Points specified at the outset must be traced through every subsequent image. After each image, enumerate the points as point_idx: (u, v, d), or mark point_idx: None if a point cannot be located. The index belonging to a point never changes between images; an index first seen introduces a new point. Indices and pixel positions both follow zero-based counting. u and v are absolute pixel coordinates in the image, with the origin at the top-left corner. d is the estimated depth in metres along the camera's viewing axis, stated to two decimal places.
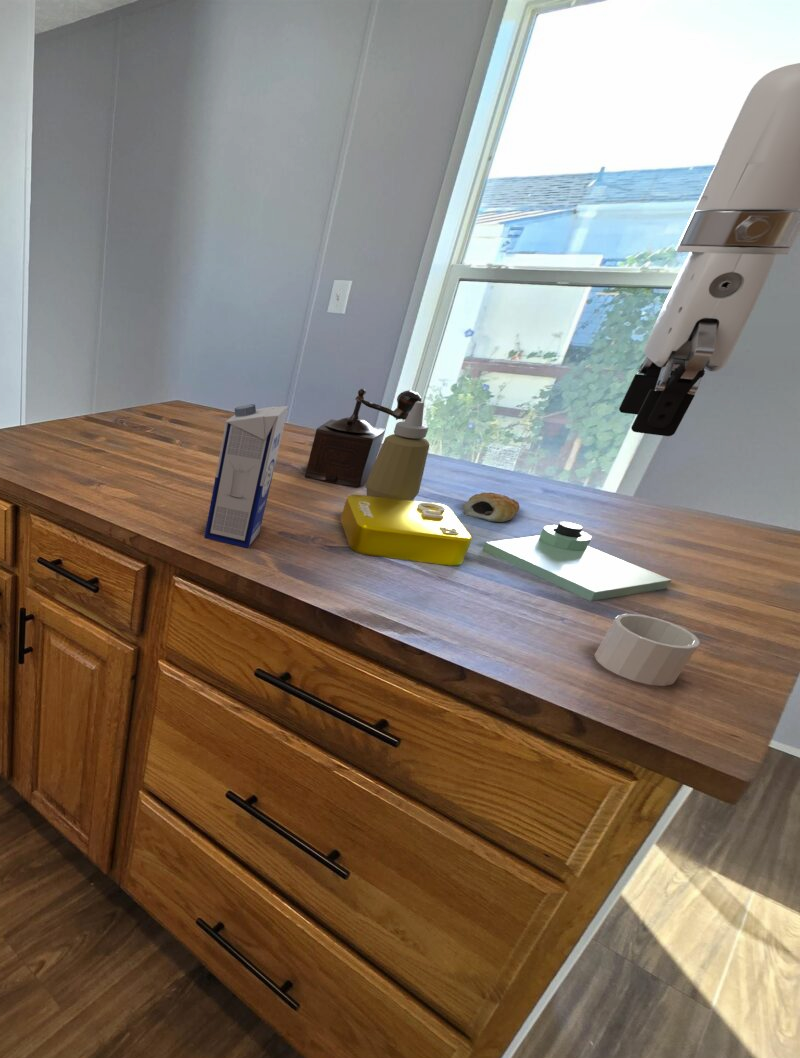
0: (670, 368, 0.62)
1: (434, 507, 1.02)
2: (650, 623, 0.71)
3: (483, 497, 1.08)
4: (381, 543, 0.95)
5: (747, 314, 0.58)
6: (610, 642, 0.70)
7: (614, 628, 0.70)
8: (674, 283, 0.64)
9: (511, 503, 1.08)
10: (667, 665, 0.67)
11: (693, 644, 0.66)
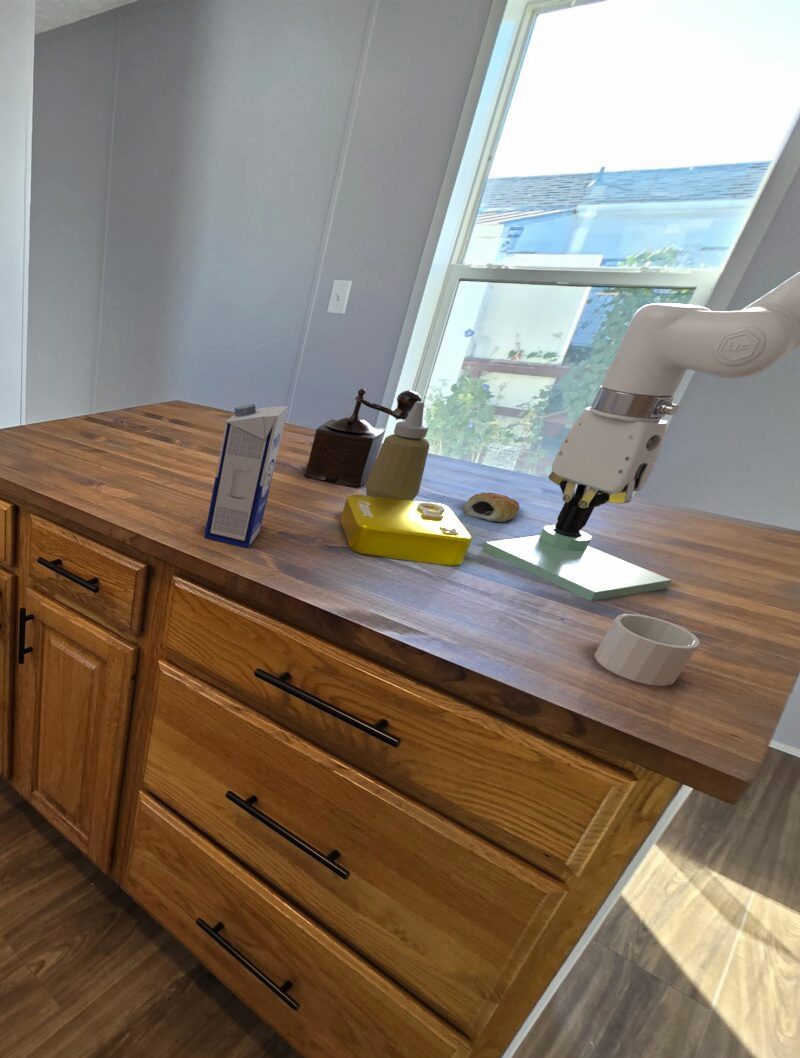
0: (595, 497, 0.92)
1: (434, 507, 1.02)
2: (650, 623, 0.71)
3: (483, 497, 1.08)
4: (381, 543, 0.95)
5: (656, 458, 0.88)
6: (610, 642, 0.70)
7: (614, 628, 0.70)
8: (585, 431, 0.91)
9: (511, 503, 1.08)
10: (667, 665, 0.67)
11: (693, 644, 0.66)
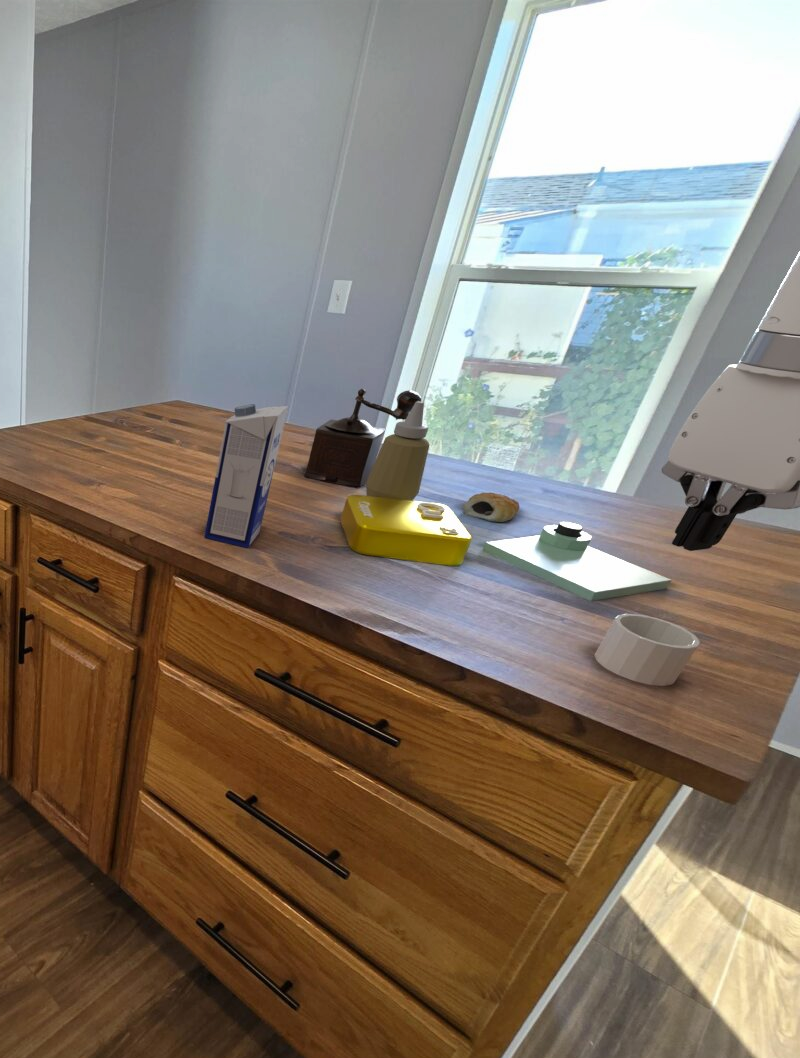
0: (741, 499, 0.61)
1: (434, 507, 1.02)
2: (650, 623, 0.71)
3: (483, 497, 1.08)
4: (381, 543, 0.95)
5: None
6: (610, 642, 0.70)
7: (614, 628, 0.70)
8: (728, 400, 0.61)
9: (511, 503, 1.08)
10: (667, 665, 0.67)
11: (693, 644, 0.66)
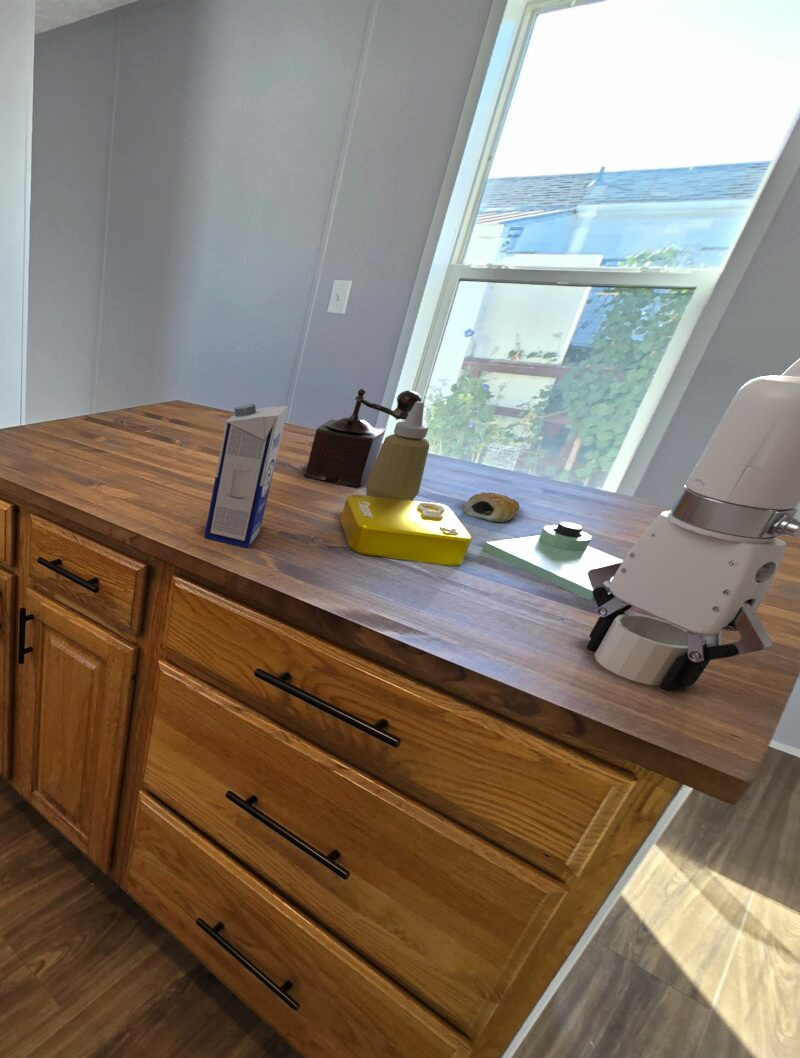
0: (705, 642, 0.64)
1: (434, 507, 1.02)
2: (650, 623, 0.71)
3: (483, 497, 1.08)
4: (381, 543, 0.95)
5: (767, 590, 0.62)
6: (610, 642, 0.70)
7: (614, 628, 0.70)
8: (661, 547, 0.66)
9: (511, 503, 1.08)
10: (667, 665, 0.67)
11: None
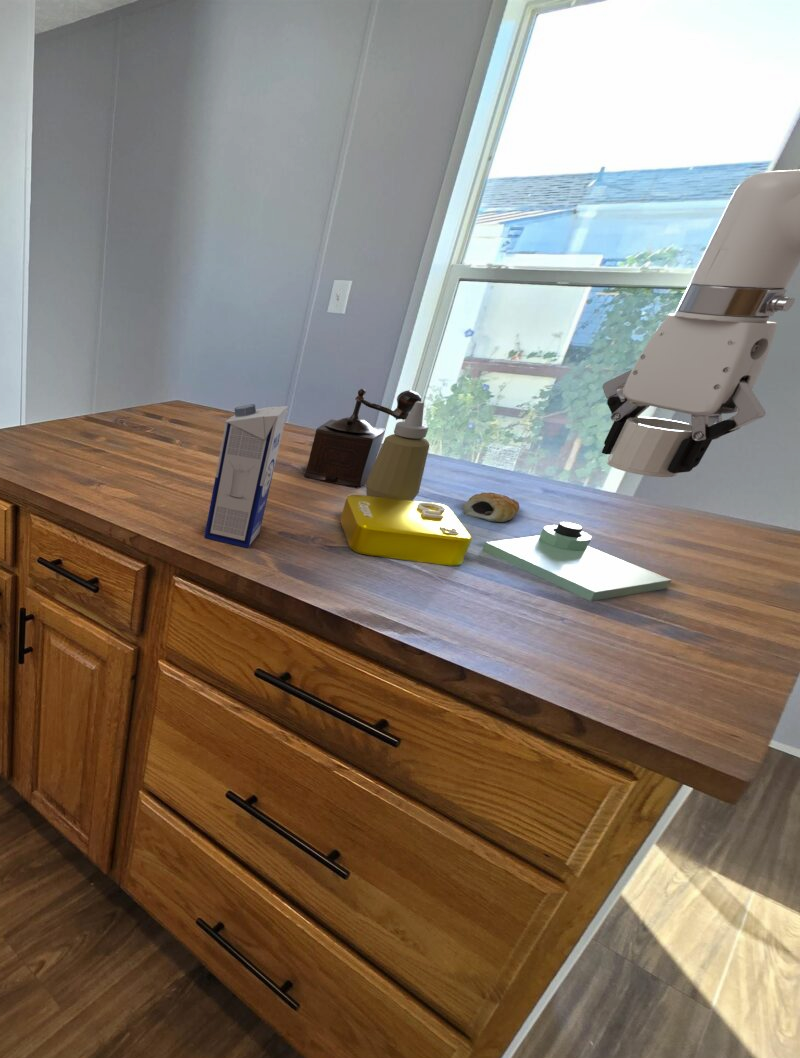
0: (707, 421, 0.74)
1: (434, 507, 1.02)
2: (658, 424, 0.81)
3: (483, 497, 1.08)
4: (381, 543, 0.95)
5: None
6: (623, 439, 0.80)
7: (626, 426, 0.80)
8: (668, 342, 0.75)
9: (511, 503, 1.08)
10: (674, 450, 0.77)
11: None
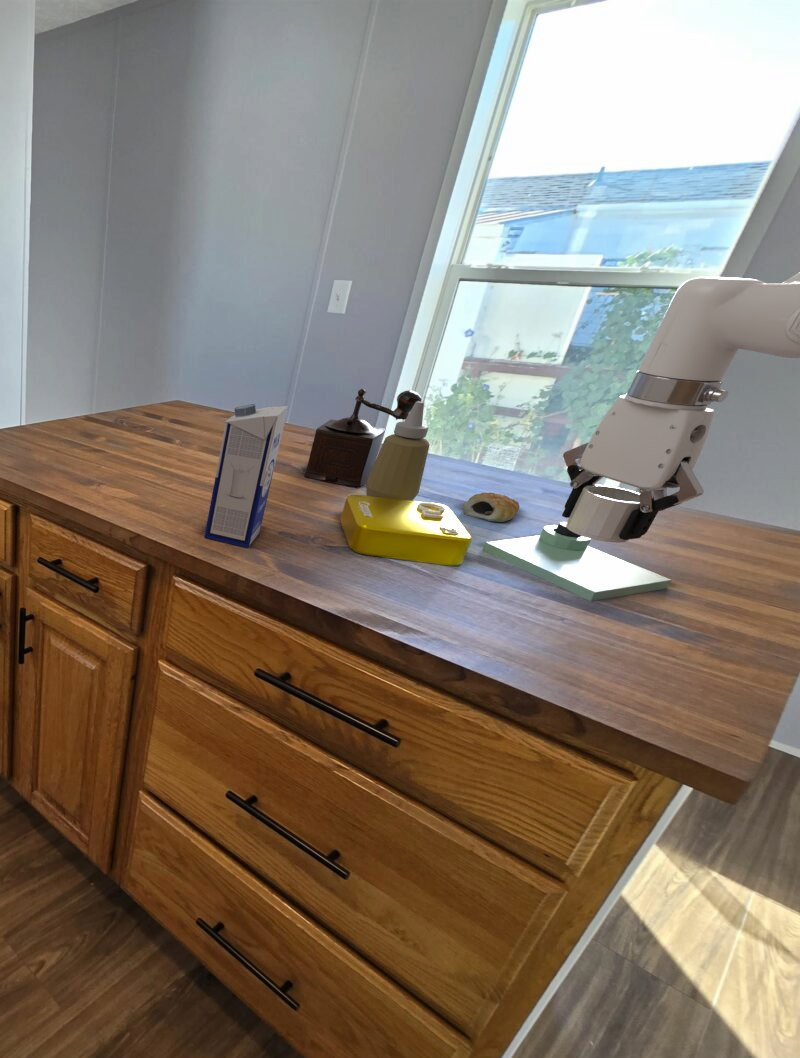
0: (653, 495, 0.81)
1: (434, 507, 1.02)
2: (612, 492, 0.88)
3: (483, 497, 1.08)
4: (381, 543, 0.95)
5: None
6: (580, 506, 0.87)
7: (583, 494, 0.87)
8: (619, 422, 0.82)
9: (511, 503, 1.08)
10: (624, 519, 0.84)
11: None
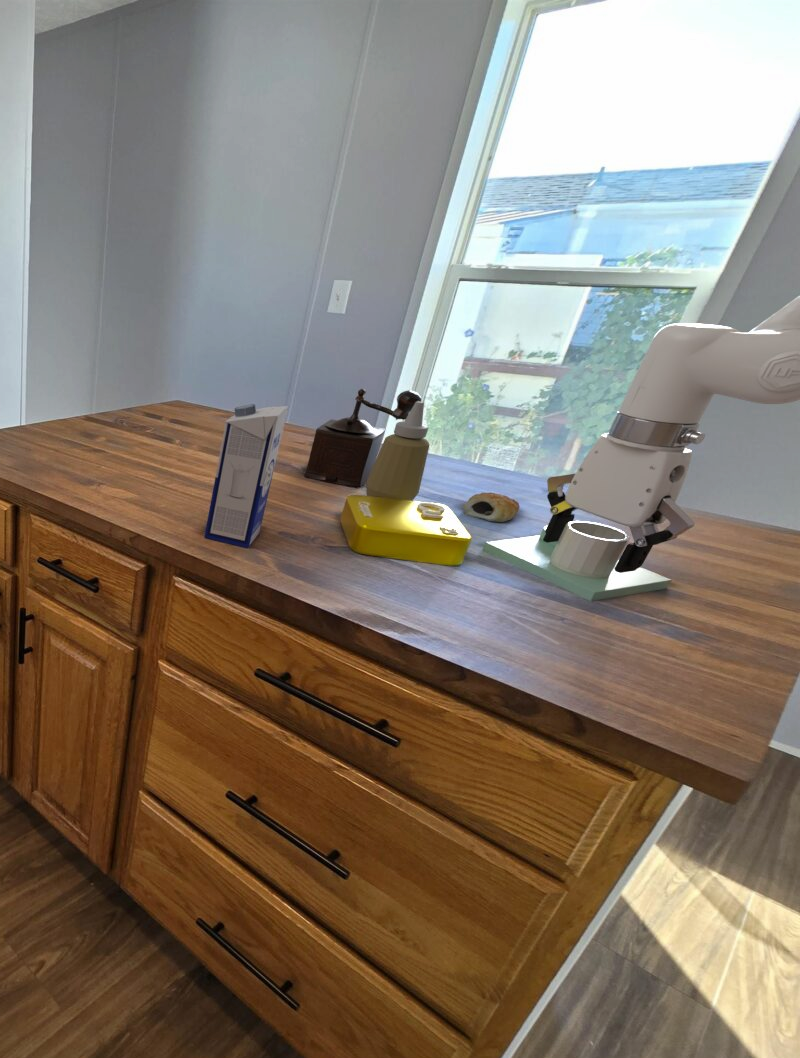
0: (644, 529, 0.82)
1: (434, 507, 1.02)
2: (594, 528, 0.91)
3: (483, 497, 1.08)
4: (381, 543, 0.95)
5: (680, 489, 0.81)
6: (562, 542, 0.90)
7: (565, 531, 0.90)
8: (601, 460, 0.85)
9: (511, 503, 1.08)
10: (605, 556, 0.86)
11: (624, 539, 0.86)
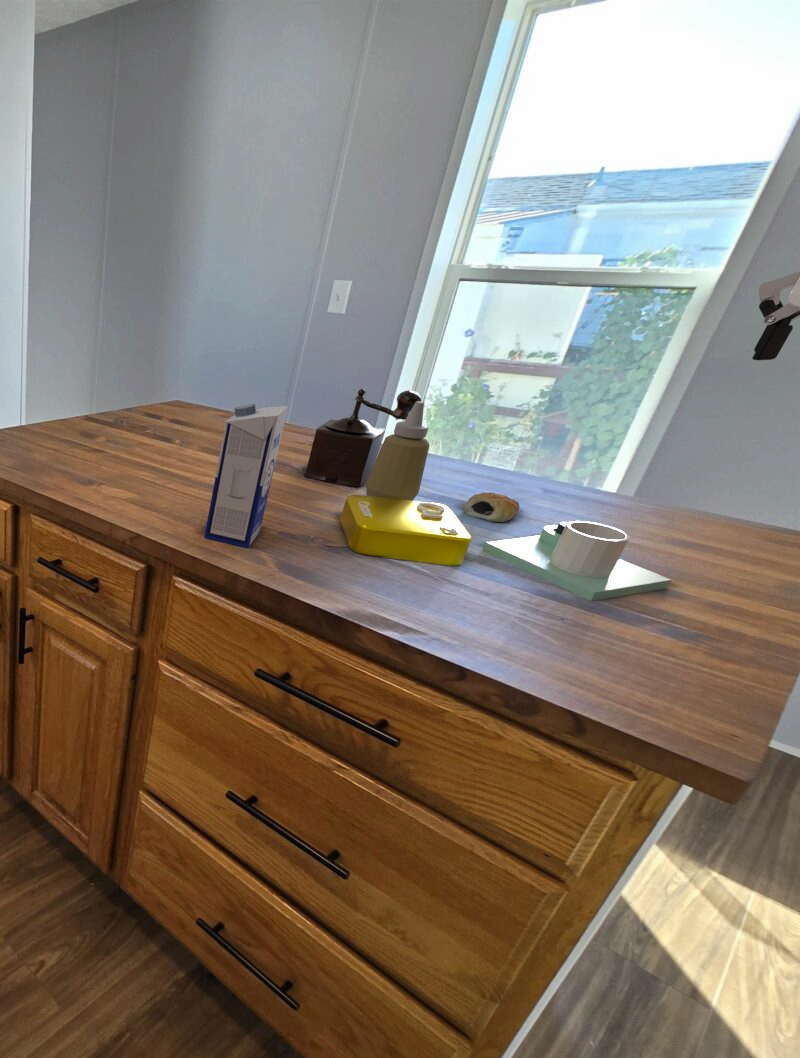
0: None
1: (434, 507, 1.02)
2: (594, 528, 0.91)
3: (483, 497, 1.08)
4: (381, 543, 0.95)
5: None
6: (562, 542, 0.90)
7: (565, 531, 0.90)
8: None
9: (511, 503, 1.08)
10: (605, 556, 0.86)
11: (624, 539, 0.86)
